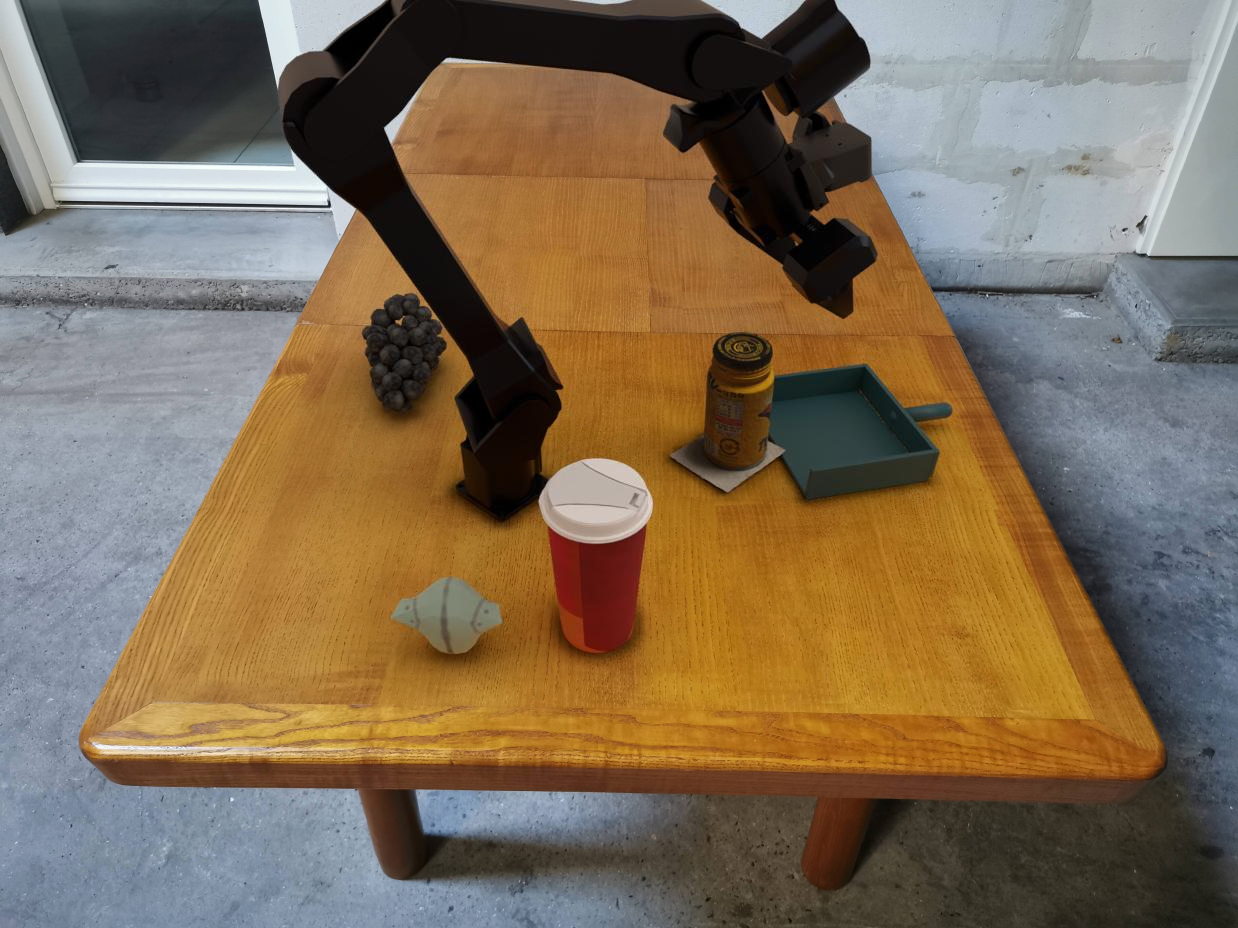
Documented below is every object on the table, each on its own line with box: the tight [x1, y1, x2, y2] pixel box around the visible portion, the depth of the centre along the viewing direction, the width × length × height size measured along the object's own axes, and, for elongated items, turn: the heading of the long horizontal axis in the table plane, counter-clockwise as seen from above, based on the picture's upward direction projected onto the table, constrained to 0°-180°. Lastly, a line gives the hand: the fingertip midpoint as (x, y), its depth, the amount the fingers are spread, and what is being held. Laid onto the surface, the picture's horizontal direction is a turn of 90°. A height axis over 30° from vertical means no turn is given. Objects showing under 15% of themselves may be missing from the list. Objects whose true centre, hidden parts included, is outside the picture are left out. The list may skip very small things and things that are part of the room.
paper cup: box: [538, 457, 654, 654], centre depth 64 cm, size 8×8×14 cm
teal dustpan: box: [768, 362, 954, 501], centre depth 86 cm, size 18×15×3 cm
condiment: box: [669, 331, 785, 493], centre depth 80 cm, size 7×8×12 cm
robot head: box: [390, 576, 503, 655], centre depth 64 cm, size 8×4×7 cm, turn 87°
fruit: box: [361, 292, 448, 414], centre depth 90 cm, size 9×8×15 cm
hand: (820, 290), depth 78 cm, fingers open, 9 cm apart
